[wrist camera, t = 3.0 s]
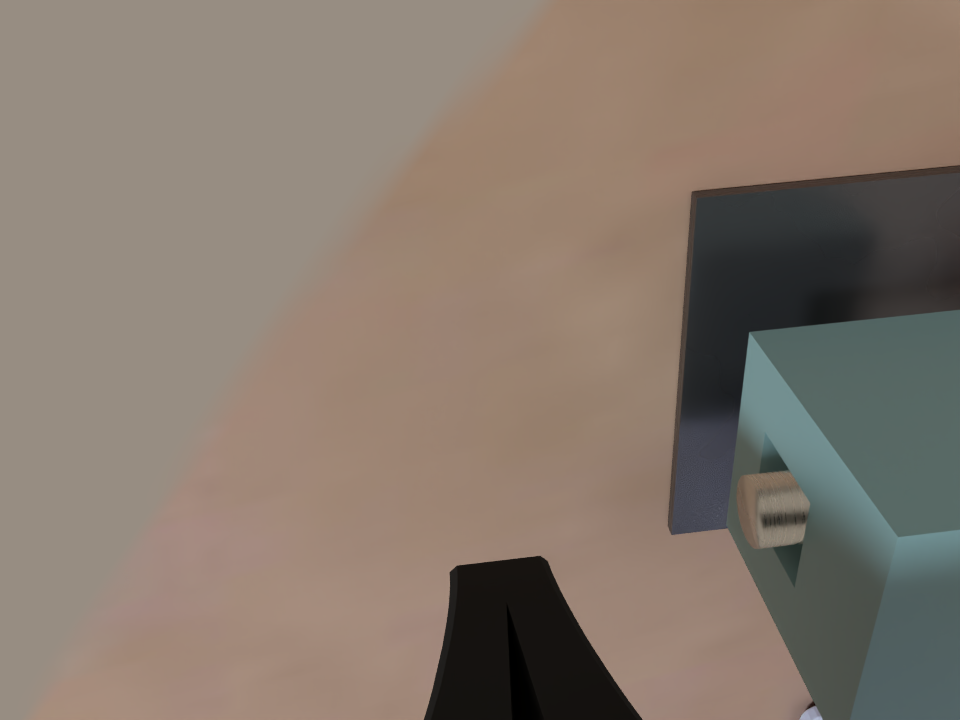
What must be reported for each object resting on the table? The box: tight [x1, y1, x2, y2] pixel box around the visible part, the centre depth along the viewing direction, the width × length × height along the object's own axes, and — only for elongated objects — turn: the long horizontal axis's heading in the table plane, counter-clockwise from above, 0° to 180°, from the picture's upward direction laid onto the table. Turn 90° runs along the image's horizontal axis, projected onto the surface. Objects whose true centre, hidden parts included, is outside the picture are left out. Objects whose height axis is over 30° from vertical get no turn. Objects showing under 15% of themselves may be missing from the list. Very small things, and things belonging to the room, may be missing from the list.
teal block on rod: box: [726, 310, 960, 720], centre depth 14 cm, size 4×4×5 cm
